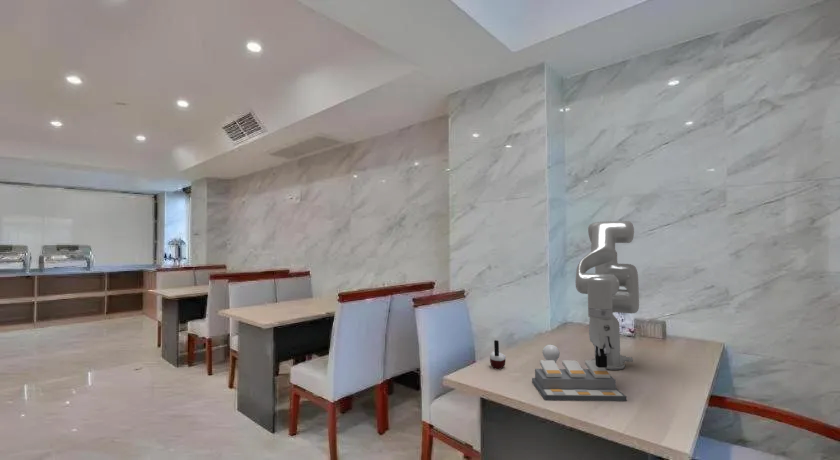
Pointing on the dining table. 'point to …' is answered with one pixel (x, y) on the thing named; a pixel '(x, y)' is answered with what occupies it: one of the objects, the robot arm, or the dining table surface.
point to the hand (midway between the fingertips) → (601, 366)
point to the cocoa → (497, 357)
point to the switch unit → (577, 387)
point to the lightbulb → (551, 352)
